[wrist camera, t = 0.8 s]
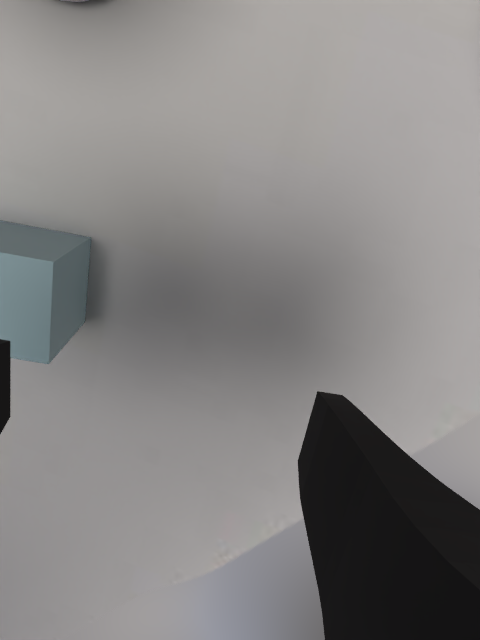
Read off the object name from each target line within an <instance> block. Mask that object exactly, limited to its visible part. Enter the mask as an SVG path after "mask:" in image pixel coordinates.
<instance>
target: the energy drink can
mask: <svg viewBox="0 0 480 640" xmlns="http://www.w3.org/2000/svg"><path fill="white" fill-rule="evenodd" d="M60 1H71V2H82V1H87V0H60Z"/></svg>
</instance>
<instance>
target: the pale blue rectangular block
mask: <svg viewBox="0 0 480 640" xmlns="http://www.w3.org/2000/svg"><path fill="white" fill-rule="evenodd" d="M90 247H91V237H87V236H82V235H76V234H71V233H65V232H60V231H55V230H49V229H44V228H39V227H33V226H28V225H23V224H17V223H12V222H7V221H1V220H0V339H2V340H8V341H10V358H14V359H20V360H26V361H32V362H38V363H44V364H49V363H50V362H51V361H52V360H53V359H54V357H55V356H56V355H57V354H58V353H59V352H60V350H61V349H62V348H63V347H64V346H65V345H66V343H67V342H68V341H69V340H70V339H71V338H72V336H73V335H74V334H75V333H76V332H77V331H78V329H79V328H80V327H81V326H82V325H83V324H84V322H85V315H86V301H87V287H88V274H89V260H90Z"/></svg>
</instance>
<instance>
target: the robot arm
mask: <svg viewBox="0 0 480 640" xmlns="http://www.w3.org/2000/svg"><path fill="white" fill-rule="evenodd" d="M9 418H10V341H8V340H2V339H0V434H1V432H2V430H3V428H4V427H5V425H6V423H7V421H8V420H9ZM298 472H299V488H300V500H301V505H302V511H303V516H304V521H305V525H306V531H307V536H308V541H309V546H310V550H311V555H312V560H313V565H314V570H315V575H316V580H317V584H318V589H319V596H320V602H321V608H322V615H323V625H324V635H325V640H480V510H479V509H478V508H476V507H475V506H473V505H472V504H471V503H469V502H468V501H466V500H465V499H464V498H462V497H461V496H459V495H458V494H457V493H455V492H454V491H452V490H451V489H450V488H448V487H447V486H445V485H444V484H443V483H442V482H440V481H439V480H438V479H436V478H435V477H434V476H433V475H431V474H430V473H429V472H428V471H427V470H425V469H424V468H423V467H422V466H421V465H419V464H418V463H417V462H416V461H415V460H413V459H412V458H411V457H410V456H409V455H408V454H406V453H405V452H404V451H403V450H402V449H401V448H400V447H398V446H397V445H396V444H395V443H394V442H393V441H392V440H391V439H390V438H389V437H388V436H386V435H385V434H384V433H383V432H382V431H381V430H380V429H379V428H378V427H377V426H376V425H375V424H374V423H373V422H372V421H371V420H370V419H368V418H367V417H366V416H365V415H364V414H363V413H362V412H361V411H360V410H359V409H358V408H357V407H356V406H355V405H354V404H352V403H351V402H350V401H349V400H348V399H347V398H345V397H344V396H343V395H337V394H331V393H325V392H317V395H316V399H315V402H314V406H313V409H312V413H311V416H310V420H309V423H308V427H307V431H306V434H305V438H304V441H303V445H302V448H301V452H300V455H299V459H298Z"/></svg>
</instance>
